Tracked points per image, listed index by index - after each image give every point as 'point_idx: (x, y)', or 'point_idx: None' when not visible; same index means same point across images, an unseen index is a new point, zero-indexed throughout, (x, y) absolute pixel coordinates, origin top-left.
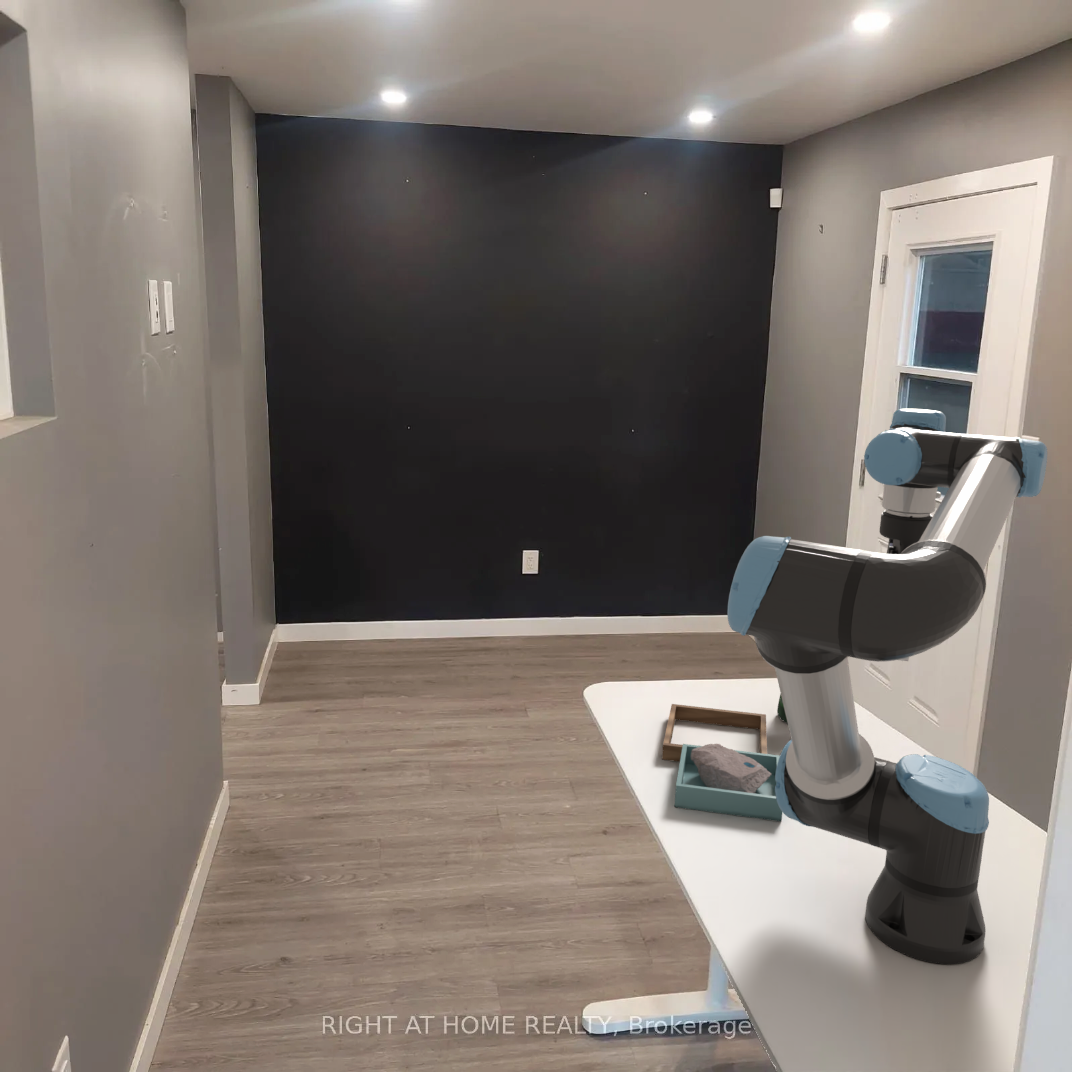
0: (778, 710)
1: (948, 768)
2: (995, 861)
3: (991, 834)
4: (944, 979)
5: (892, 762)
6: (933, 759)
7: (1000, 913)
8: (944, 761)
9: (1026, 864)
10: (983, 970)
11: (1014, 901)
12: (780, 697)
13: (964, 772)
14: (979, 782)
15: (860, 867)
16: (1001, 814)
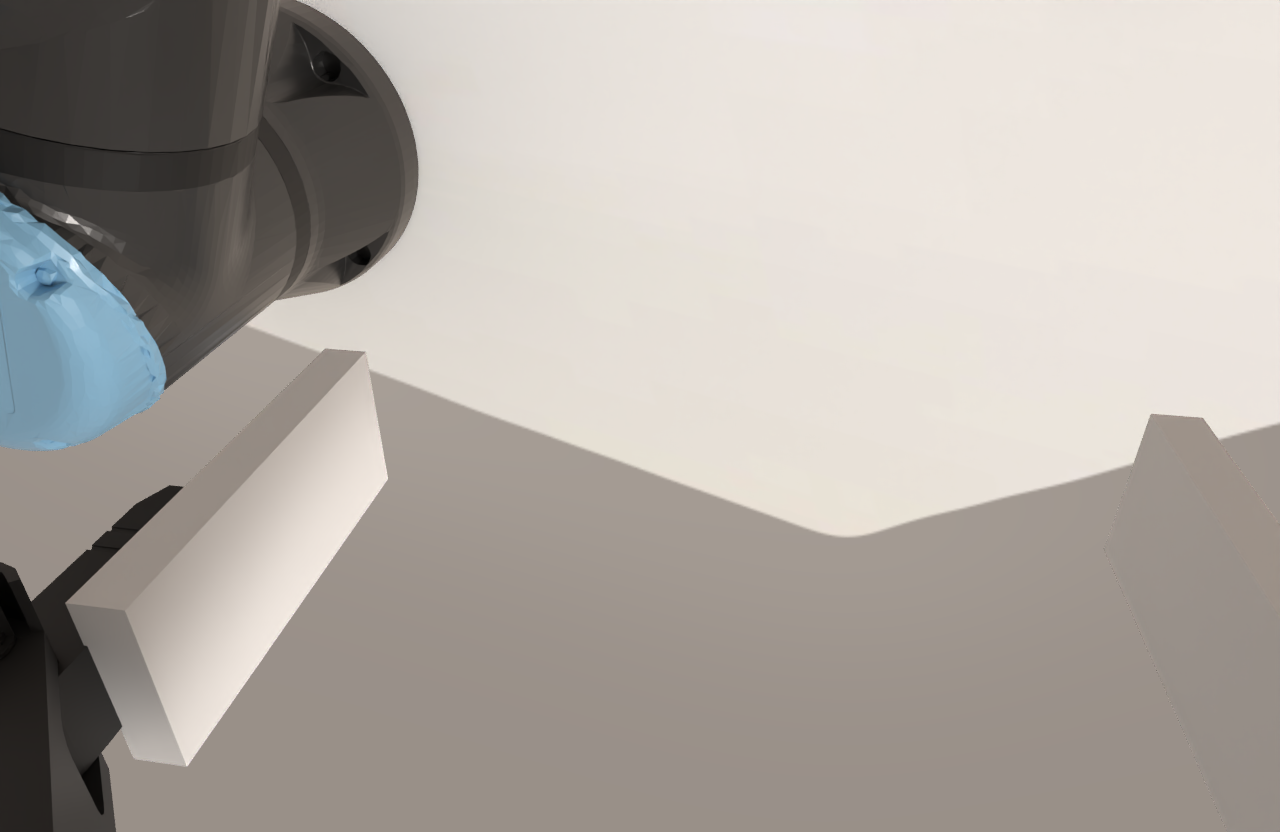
0: None
1: (5, 363)
2: (666, 404)
3: (812, 435)
4: None
5: (7, 145)
6: (24, 324)
7: (427, 346)
8: (49, 364)
9: (671, 468)
10: None
11: (491, 391)
12: None
13: (24, 412)
14: (7, 441)
15: (520, 14)
16: (936, 494)
